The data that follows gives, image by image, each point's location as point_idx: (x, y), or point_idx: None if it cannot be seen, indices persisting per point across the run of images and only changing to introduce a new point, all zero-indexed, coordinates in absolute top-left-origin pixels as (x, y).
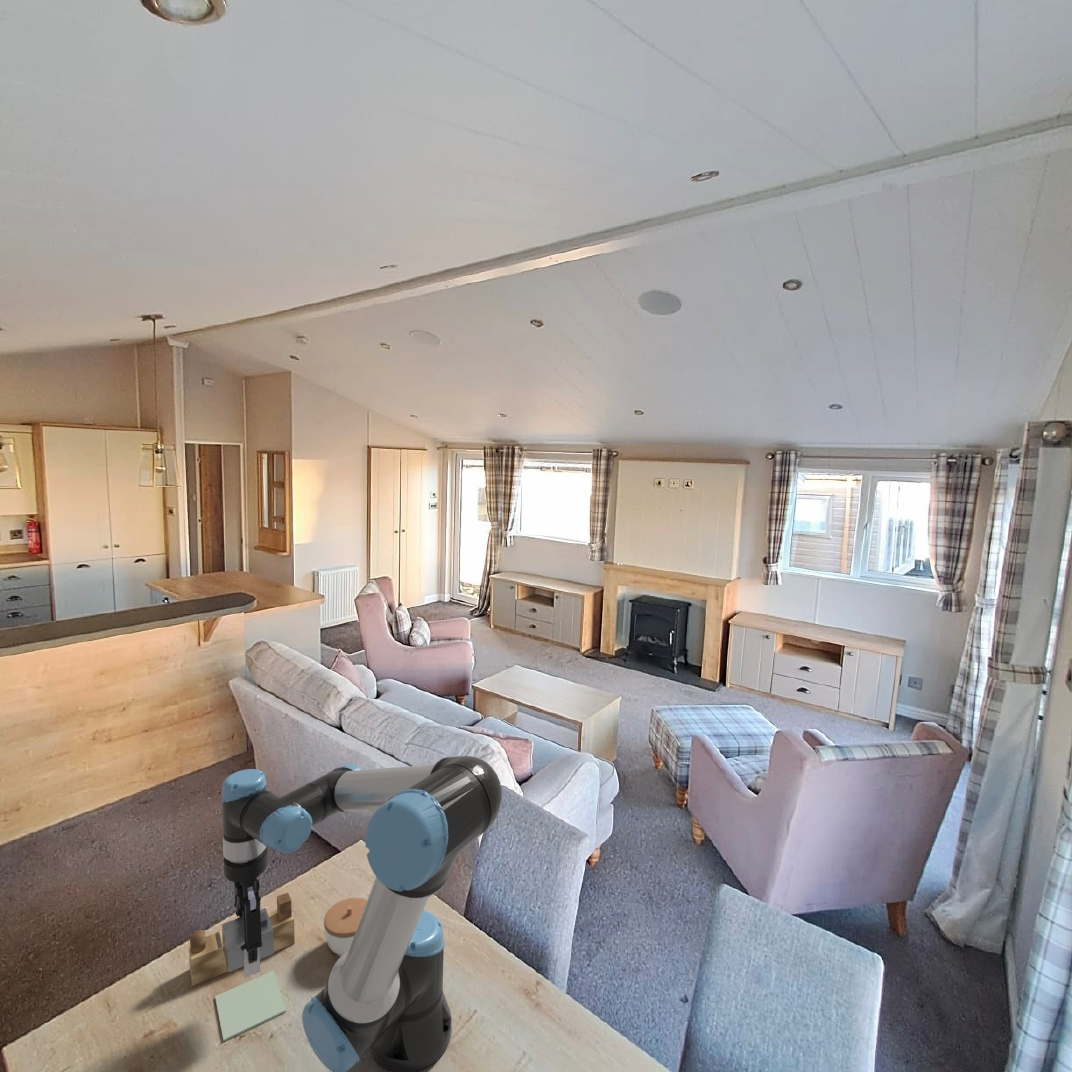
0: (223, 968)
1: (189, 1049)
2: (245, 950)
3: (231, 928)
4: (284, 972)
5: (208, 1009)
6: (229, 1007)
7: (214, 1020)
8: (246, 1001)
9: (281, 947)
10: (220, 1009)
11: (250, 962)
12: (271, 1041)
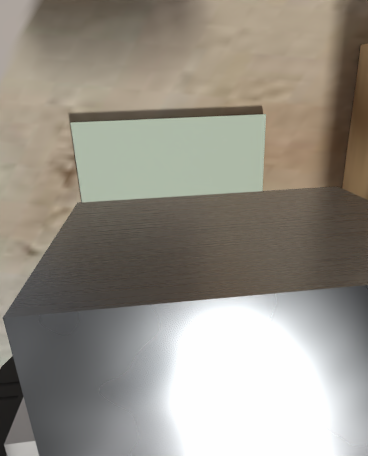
0: (357, 150)
1: (93, 11)
2: (24, 412)
3: (362, 366)
4: None
5: (229, 88)
6: (191, 152)
7: (172, 103)
8: None
9: None
10: (200, 125)
11: (8, 368)
12: (10, 249)
